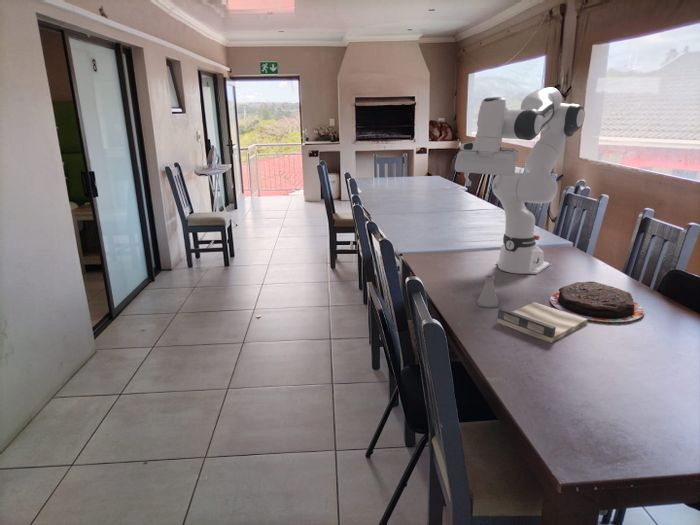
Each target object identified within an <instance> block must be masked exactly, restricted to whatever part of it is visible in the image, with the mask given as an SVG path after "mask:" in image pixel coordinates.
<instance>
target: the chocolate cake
mask: <svg viewBox="0 0 700 525" xmlns="http://www.w3.org/2000/svg"><path fill="white" fill-rule="evenodd" d="M549 301H550V303H551V304H550V305H551V306H552V308H554V309H557V310H560V311H564V312H567V313H570V314H573V315H576V316H579V317H582V318H585V319H588V320H587V323H588V322H589V323H590V322H594V323H595V322H596V323H600V322H601V323H600V324H607V323H608V324H610V325H622V324H626V323H630V322H634V321H637V320H640V319H641V318H642V317H644V314H645V310H644V308H643V307H642V306H641V304H639V303H638V302H636V301H635V300H634V299H633V296H632V294H631V293H630V292H629V291H626V290H623V289H620V288H617V287H614V286H611V285H607V284H604V283H599V282H596V281H583V282H578V281H577V282H574V283H573V282H572V283H571V284H568V285H565V286H562V287H560V288H559V289H558V291H556V292H554V293H553V294H552V295H551V296H550V298H549Z"/></svg>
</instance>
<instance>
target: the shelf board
mask: <svg viewBox="0 0 700 525" xmlns="http://www.w3.org/2000/svg"><path fill="white" fill-rule="evenodd" d="M496 318H497V319H496V323H497V324H501V325H503V326H505V327H509V328H511V329H512V330H517V331H519V332H521V333H524V334H526V335H528V336H531V337H534V338H538V339H540V340H542V341H544V342H548V343H550V344H552V343H554V342H556V341H557V340H559V339H561V338H563V337H565V336H568V335H569V334H571V333H572V332H575V331H576V330H578V329H580V328H581V327H584V326H585V325H587V324H588V321H587V320H588V319H585V318H582V317H579V316H576V315H573V314H570V313H567V312H564V311H560V310H558V309H555V308H554V307H550V306H547V305H545V304H541V303H538V302H536V301H533V302H531V303H528V304H527V305H525V306H522V307H519V308H518V309H515V310H513V311H512V310H508V309H506V308H504V307H503V308H502V307H500V308H498V309H497V317H496Z"/></svg>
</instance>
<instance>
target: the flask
mask: <svg viewBox="0 0 700 525" xmlns="http://www.w3.org/2000/svg"><path fill="white" fill-rule="evenodd" d="M484 278H485V282H484V286H483V288H482V292H481V294H480V295H479V298H478V299H477V301H476V304H477V305H478V306H479V307H483V308H489V309H490V308H498V306H499V304H500V303H499V300H498V296H497V293H496V290H495V285H494V284H495V283H494V280H495V279H496V277H495V276H494V275H492V274H486V275H485V276H484Z"/></svg>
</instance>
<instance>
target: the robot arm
mask: <svg viewBox="0 0 700 525" xmlns="http://www.w3.org/2000/svg"><path fill="white" fill-rule="evenodd" d="M562 102H563V95H562V93H561V92H560V90H558V89H557V88H555V87H551V86H548V87H543V88H539V89H536V90H534V91H533V92H530V93H528V94H527V95H526V96H525V97H524V98H523V100H522V101H521V104H520V109H508V108H507V107H506V98H505V97H502V96H495V97H485V98H484V99H483V100H482V101H481V103H480V107H479V111H478V115H477V123H476V126H477V130H476V134H475V138H474V139H475V140H472V141H468V142H464V143H461V145H460V151H459V152H458V153H457V155H456V159H455V163H454V170H455V172H458V173H464V174H463V176H464V179H465V181H466V184H465V186H466V187H471V186H472V180H470V179H469V177H468V176H470V174H471V173H472V174H481V175H494V176H495V177H494V178H493V181H492V183H491V190H492V193H493V195H494V196H495V197H496V198H497V200H498V201H500V204H501V205H502V207H503V211H504V215H505V216H504V217H505V230H504V232H505V233H504V234H503V237H502V243H503V244H501V246H500V252H499V256H498V260H497V261H496V263H495V264H496V265H497V266H498V267H497V268H498V269H499V270H501V271H503V272H506V273H512V274H528V275H529V274H531V275H537V274H539V273H540V272H542V271H544V270H545V269H547V268H548V267H549V266H550V263H549V262H548V261H546V260H544V258H545V253H544V251H543V250H542V249H541V248H540V247H539V246H538V245H537V244H536V243H537V242H536V241H539V240H540V239H541V238H540V235H537V234H535V226H536V217H535V214H533V213H532V212H531V211H530V210H528V209H527V207H526V204H525V203H529V204H530V203H531V204H547V203H548V204H549V203H550V202H552V201H553V200H554V199H555V198H556V195H557V193H558V183H557V181H556V178H554V177H553V176H552V171H553V170H554V167H555V166H556V164H557V162H558V161H559V160H560V158H561V155H562V153H563V151H564V149H565V146H566V137H568V138H571V137H572V136H573V135H574V134H575V133H576V132H578V131H579V130H580V128H582V127H583V124H584V121H585V115H586V114H585V109H584V107H583V105H580V104H578V103H577V104H576V103H562ZM540 132H544V133H543V135H542V136H541V137H540V138H539V139H538V140H537V142H536V143H535V144H534V145H533V147H532V149H531V150H530V151H529V153H528V155H527V156H526V157H525V159H524V165H523V166H524V169H525V171H526V172H525V173H524V172H516V162H517V161H518V159H519V152H518V150H517V149H515V148H513V147H511V148H510V147H502V143H503V139H506V140H507V139H511V140H513V139H514V140H522V141H532V140H534V139H535V138H536V137H537V136H538V135H539V134H540Z"/></svg>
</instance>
